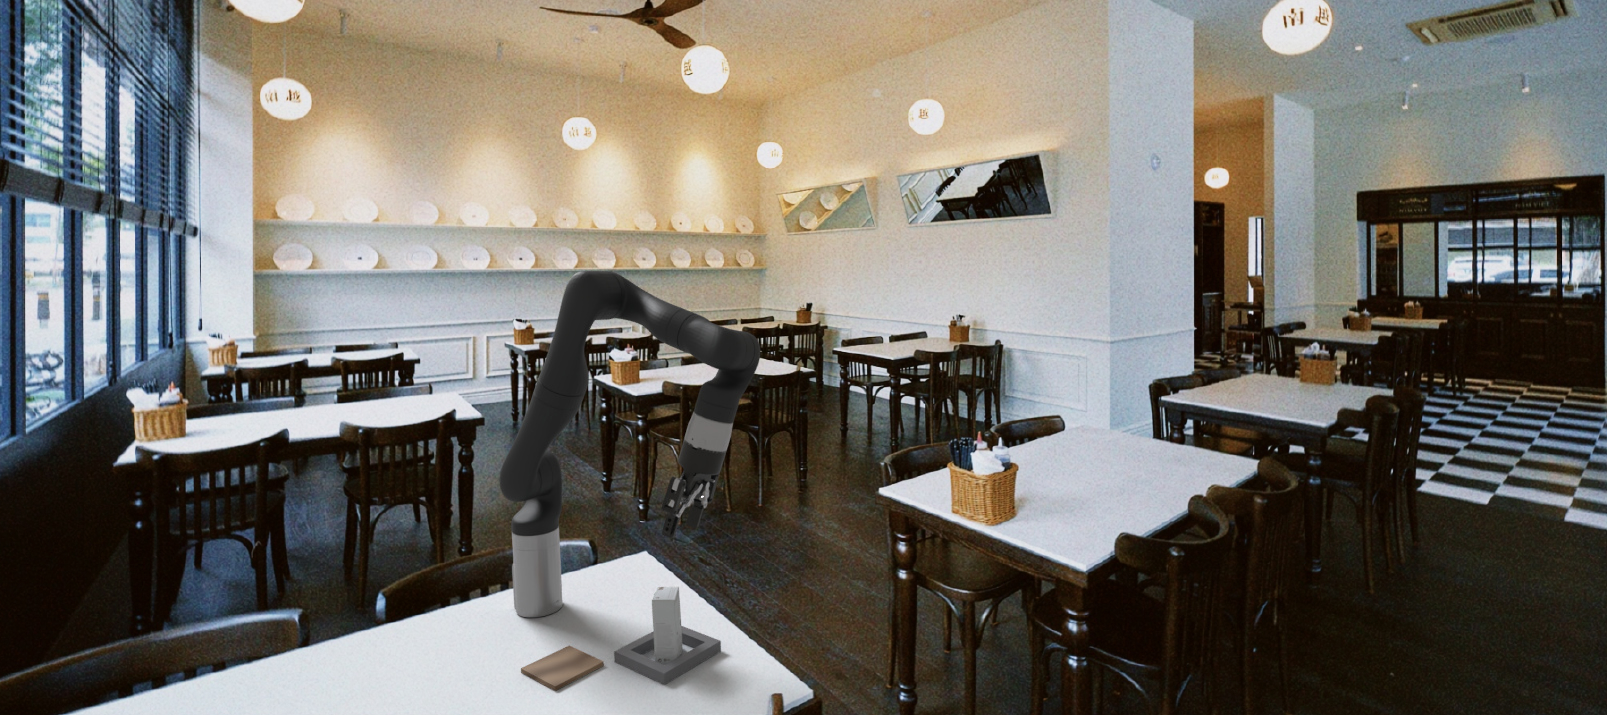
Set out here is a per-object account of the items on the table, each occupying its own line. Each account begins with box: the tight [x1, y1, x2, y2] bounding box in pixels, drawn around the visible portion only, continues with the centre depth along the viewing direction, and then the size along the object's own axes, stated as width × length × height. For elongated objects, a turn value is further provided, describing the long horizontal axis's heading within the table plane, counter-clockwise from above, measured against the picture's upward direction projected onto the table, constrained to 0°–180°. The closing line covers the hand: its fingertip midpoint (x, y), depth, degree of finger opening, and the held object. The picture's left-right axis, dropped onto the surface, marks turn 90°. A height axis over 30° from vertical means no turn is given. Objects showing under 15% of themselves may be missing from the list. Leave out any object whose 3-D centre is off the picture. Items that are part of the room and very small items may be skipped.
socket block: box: [613, 625, 722, 686], centre depth 135 cm, size 13×14×2 cm
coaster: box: [520, 645, 605, 692], centre depth 131 cm, size 10×10×1 cm
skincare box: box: [651, 586, 683, 665], centre depth 134 cm, size 6×4×12 cm
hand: (680, 531), depth 128 cm, fingers open, 8 cm apart
